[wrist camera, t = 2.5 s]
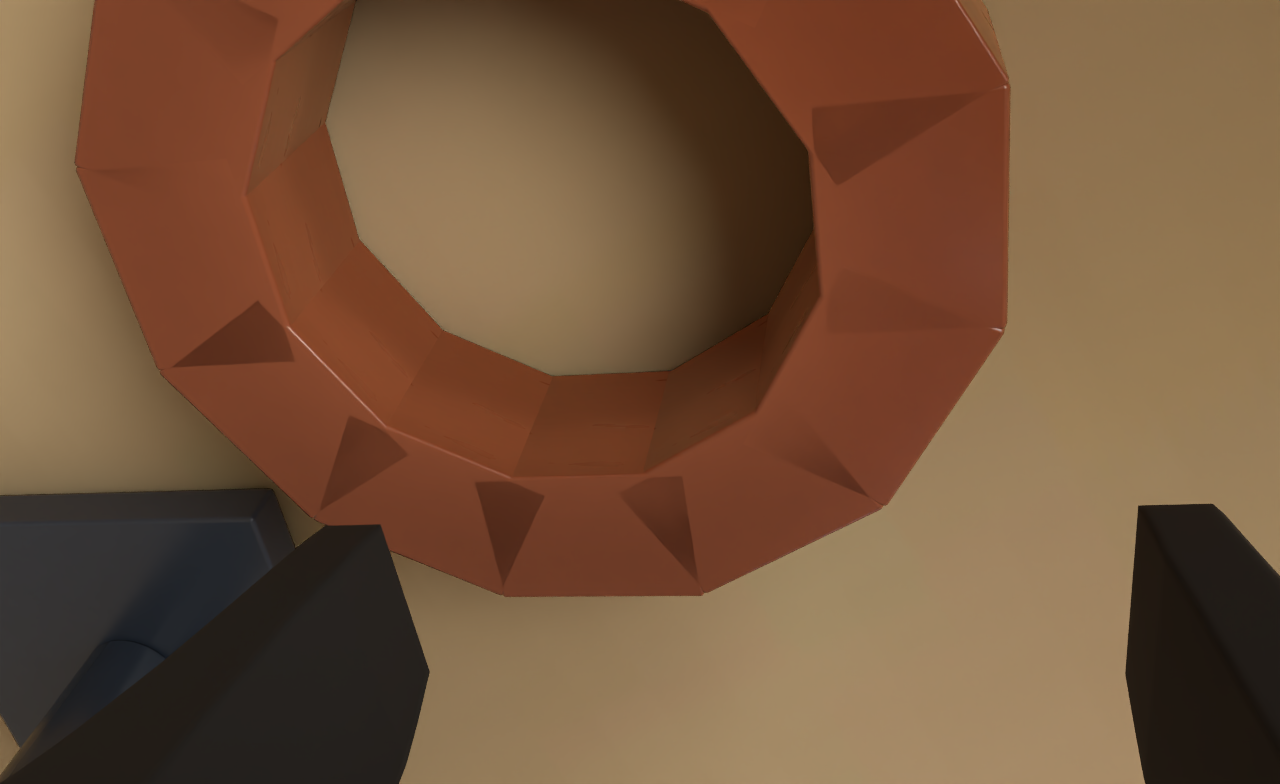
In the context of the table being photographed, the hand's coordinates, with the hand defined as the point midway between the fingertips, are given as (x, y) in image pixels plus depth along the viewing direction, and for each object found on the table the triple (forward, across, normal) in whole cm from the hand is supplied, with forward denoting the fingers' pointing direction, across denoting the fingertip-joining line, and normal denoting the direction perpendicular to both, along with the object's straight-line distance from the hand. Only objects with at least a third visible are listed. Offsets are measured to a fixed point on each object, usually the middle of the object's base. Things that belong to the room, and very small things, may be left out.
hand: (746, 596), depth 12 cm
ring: (+8, +3, -1) cm, 9 cm away
